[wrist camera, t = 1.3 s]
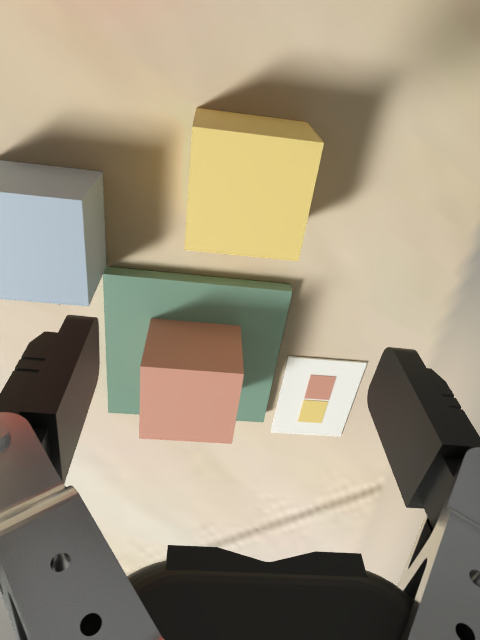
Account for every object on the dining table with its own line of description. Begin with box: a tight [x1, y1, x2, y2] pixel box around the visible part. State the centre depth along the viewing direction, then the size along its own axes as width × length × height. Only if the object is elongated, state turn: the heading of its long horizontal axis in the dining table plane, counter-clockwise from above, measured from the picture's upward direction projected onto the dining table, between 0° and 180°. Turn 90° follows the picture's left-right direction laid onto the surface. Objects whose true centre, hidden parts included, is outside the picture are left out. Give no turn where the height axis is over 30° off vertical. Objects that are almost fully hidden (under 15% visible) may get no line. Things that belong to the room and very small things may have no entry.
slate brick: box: [0, 160, 106, 306], centre depth 25 cm, size 6×6×5 cm
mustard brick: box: [184, 108, 324, 261], centre depth 24 cm, size 6×6×5 cm
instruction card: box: [271, 356, 367, 437], centre depth 36 cm, size 8×6×1 cm
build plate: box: [103, 267, 292, 422], centre depth 33 cm, size 12×12×1 cm
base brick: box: [139, 318, 244, 444], centre depth 30 cm, size 6×6×5 cm
